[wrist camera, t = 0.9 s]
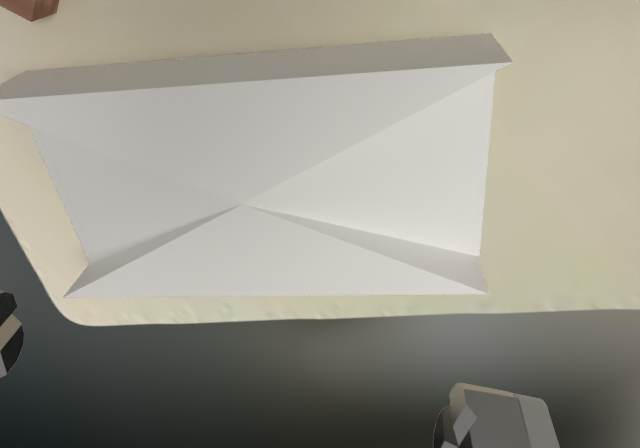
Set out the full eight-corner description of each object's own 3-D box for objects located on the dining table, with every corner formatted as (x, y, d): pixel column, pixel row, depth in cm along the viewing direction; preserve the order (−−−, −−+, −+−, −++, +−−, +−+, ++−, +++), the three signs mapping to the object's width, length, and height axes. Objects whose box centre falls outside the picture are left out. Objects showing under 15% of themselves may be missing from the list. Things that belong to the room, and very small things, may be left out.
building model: (103, 246, 63) (62, 297, 55) (29, 69, 51) (-37, 102, 43) (474, 237, 56) (489, 293, 48) (490, 32, 44) (513, 62, 36)
